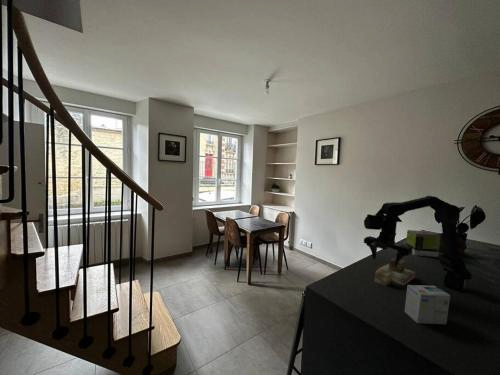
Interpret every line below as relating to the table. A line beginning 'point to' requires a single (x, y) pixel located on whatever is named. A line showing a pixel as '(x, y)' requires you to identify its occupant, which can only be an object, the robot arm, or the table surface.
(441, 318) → the light bulb box
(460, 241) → the glass bottle
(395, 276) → the plinth
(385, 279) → the oak block
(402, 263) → the walnut block
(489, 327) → the table surface
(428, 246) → the tea box
